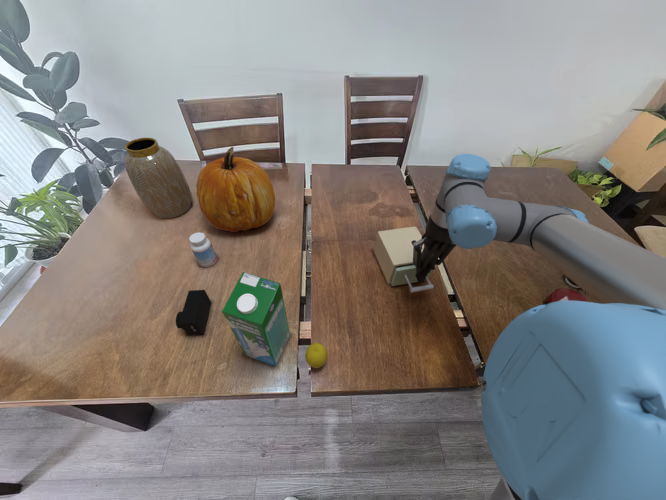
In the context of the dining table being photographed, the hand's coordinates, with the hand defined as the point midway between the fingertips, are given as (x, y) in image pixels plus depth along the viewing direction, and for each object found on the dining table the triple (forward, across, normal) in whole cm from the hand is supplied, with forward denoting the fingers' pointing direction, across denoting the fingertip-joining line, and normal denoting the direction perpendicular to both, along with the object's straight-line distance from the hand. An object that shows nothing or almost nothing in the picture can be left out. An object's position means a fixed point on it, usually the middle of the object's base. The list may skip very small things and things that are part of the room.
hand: (419, 279), depth 82 cm
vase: (+7, +80, -58) cm, 99 cm away
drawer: (+6, 0, -7) cm, 9 cm away
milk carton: (+7, +46, +8) cm, 47 cm away
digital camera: (+7, +65, -4) cm, 66 cm away
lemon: (+7, +34, +15) cm, 38 cm away
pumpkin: (+7, +52, -45) cm, 69 cm away
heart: (+7, -42, +15) cm, 45 cm away
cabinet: (+7, 0, -12) cm, 14 cm away
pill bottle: (+7, +64, -26) cm, 70 cm away
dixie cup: (+7, -55, +7) cm, 56 cm away
